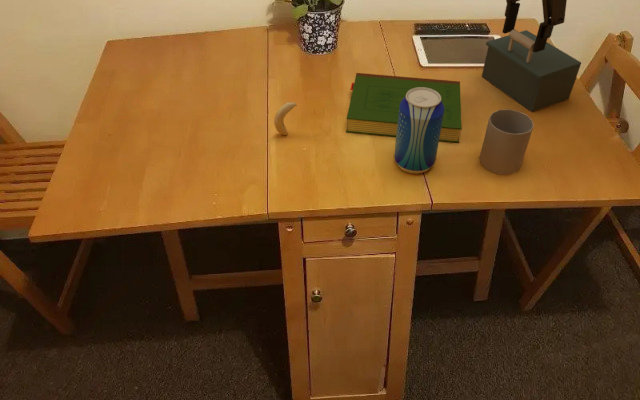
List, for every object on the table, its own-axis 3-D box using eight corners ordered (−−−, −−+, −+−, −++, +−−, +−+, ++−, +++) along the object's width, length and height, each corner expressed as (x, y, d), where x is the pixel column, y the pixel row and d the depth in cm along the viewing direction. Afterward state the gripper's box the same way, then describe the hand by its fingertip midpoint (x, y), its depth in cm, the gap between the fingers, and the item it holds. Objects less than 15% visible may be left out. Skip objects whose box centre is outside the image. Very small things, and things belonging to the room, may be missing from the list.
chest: (531, 112, 133) (541, 78, 127) (481, 76, 144) (488, 44, 138) (568, 99, 137) (580, 65, 131) (517, 65, 148) (525, 33, 142)
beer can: (395, 147, 123) (403, 82, 112) (435, 152, 122) (447, 87, 111) (391, 173, 117) (398, 106, 106) (433, 178, 116) (445, 111, 105)
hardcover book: (457, 95, 138) (460, 81, 135) (458, 143, 124) (461, 128, 122) (352, 86, 141) (353, 72, 138) (342, 131, 127) (343, 117, 125)
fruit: (269, 130, 126) (270, 135, 125) (278, 100, 120) (280, 106, 119) (286, 131, 127) (288, 137, 126) (297, 102, 121) (298, 107, 120)
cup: (512, 179, 116) (524, 139, 109) (473, 165, 119) (483, 125, 112) (526, 157, 121) (539, 117, 114) (488, 144, 124) (498, 104, 117)
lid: (538, 79, 126) (546, 55, 122) (485, 44, 138) (490, 21, 134) (580, 65, 131) (588, 42, 127) (525, 32, 142) (531, 10, 138)
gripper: (498, -78, 120) (477, 24, 135) (578, -43, 106) (545, 67, 121) (525, -84, 122) (502, 17, 138) (607, -50, 108) (571, 58, 124)
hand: (522, 40), depth 129 cm, fingers open, 9 cm apart
